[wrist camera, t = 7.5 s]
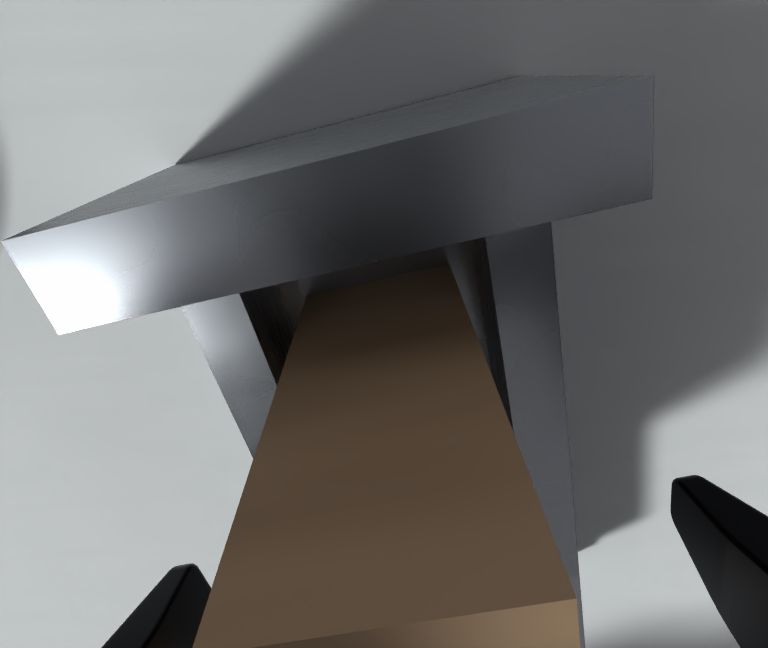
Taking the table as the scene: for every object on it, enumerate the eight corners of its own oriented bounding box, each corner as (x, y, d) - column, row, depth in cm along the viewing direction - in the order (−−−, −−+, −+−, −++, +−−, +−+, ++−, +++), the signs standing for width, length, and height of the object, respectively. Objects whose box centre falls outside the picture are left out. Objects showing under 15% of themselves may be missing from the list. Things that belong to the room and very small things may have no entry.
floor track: (566, 558, 15) (642, 755, 11) (352, 593, 16) (342, 792, 12) (519, 75, 9) (653, 75, 5) (172, 166, 10) (0, 241, 5)
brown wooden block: (497, 532, 13) (602, 934, 7) (391, 549, 14) (402, 950, 7) (449, 264, 10) (577, 598, 4) (306, 295, 10) (189, 657, 4)
